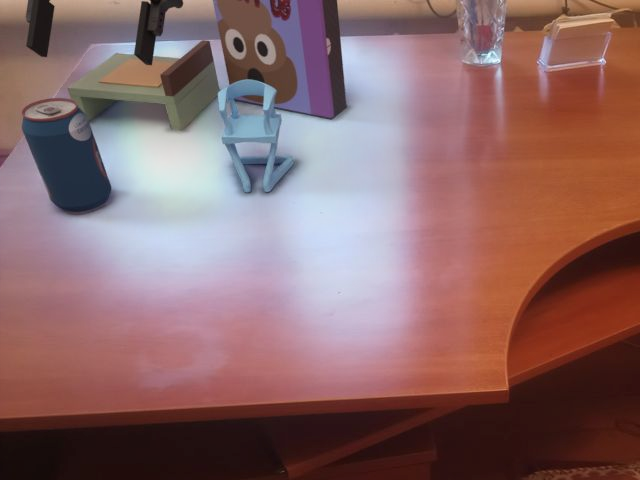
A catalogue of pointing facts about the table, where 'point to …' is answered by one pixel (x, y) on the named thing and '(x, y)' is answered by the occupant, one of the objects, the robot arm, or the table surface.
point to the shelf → (151, 84)
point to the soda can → (66, 154)
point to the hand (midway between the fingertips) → (89, 56)
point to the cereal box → (285, 52)
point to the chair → (253, 131)
